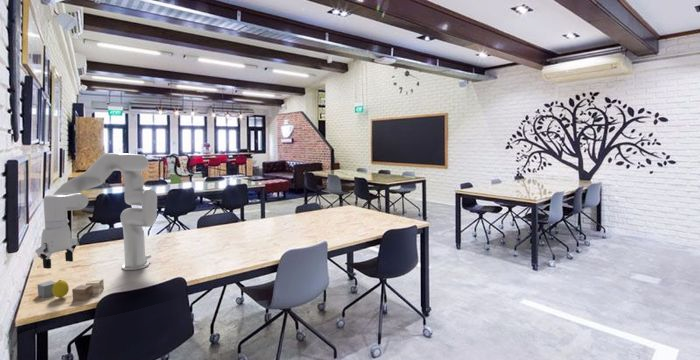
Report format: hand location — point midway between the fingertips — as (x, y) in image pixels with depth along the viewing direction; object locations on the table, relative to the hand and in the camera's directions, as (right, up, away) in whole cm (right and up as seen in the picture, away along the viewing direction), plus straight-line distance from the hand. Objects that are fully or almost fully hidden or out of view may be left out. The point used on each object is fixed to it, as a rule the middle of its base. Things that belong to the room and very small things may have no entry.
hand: (58, 264), depth 157 cm
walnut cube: (+9, -15, +2) cm, 17 cm away
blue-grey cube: (-9, -14, +5) cm, 17 cm away
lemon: (0, -15, +2) cm, 15 cm away
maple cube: (+9, -14, +9) cm, 19 cm away
